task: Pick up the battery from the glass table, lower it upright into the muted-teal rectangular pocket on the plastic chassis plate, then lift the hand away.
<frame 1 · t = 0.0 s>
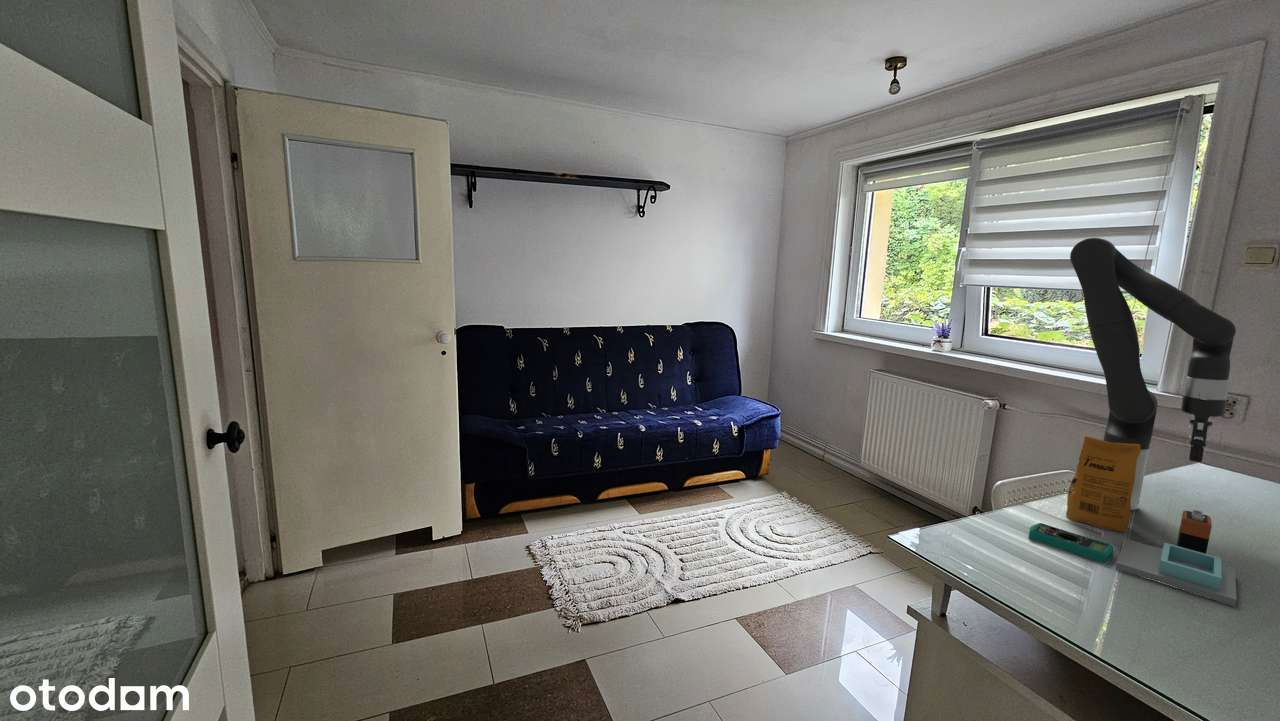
hand: (1195, 457, 132), 17 cm above the table, tool pointing down, fingers open, 8 cm apart
coffee package: (1095, 521, 134), on the table
battery: (1189, 555, 118), on the table
chassis: (1173, 572, 110), on the table
digital multimeter: (1069, 548, 121), on the table
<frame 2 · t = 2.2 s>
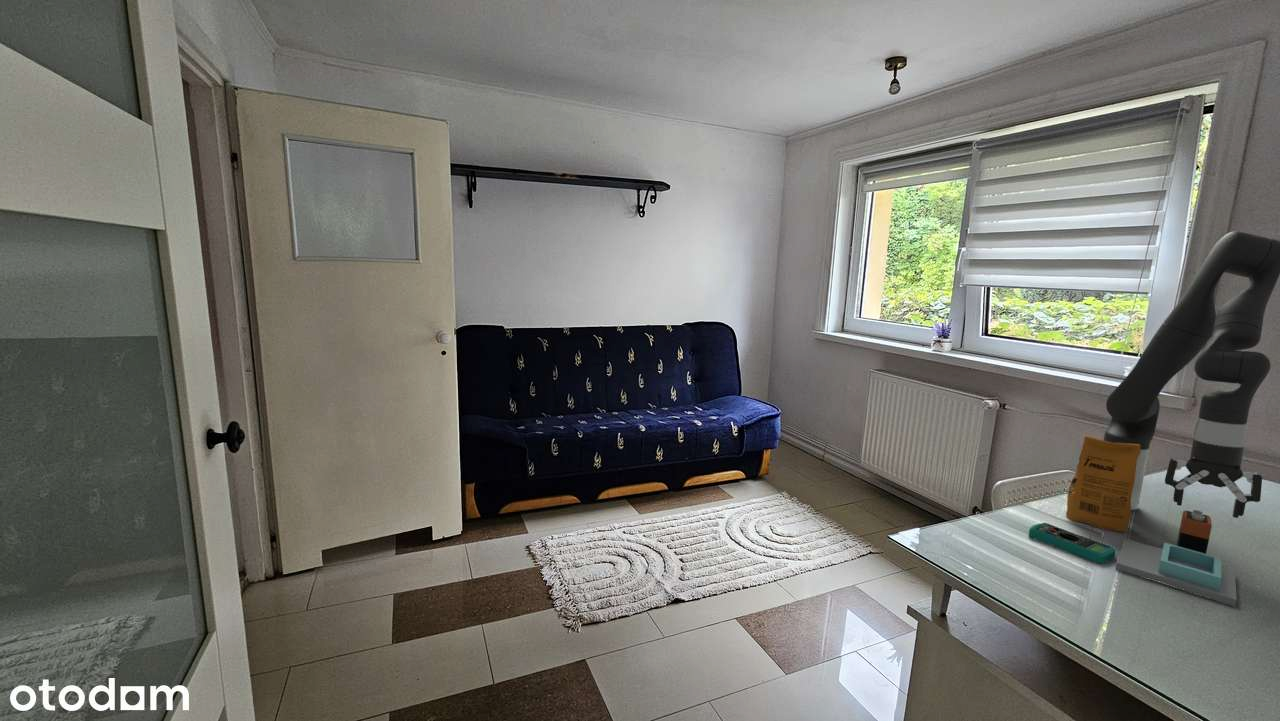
hand: (1206, 510, 116), 11 cm above the table, tool pointing down, fingers open, 8 cm apart
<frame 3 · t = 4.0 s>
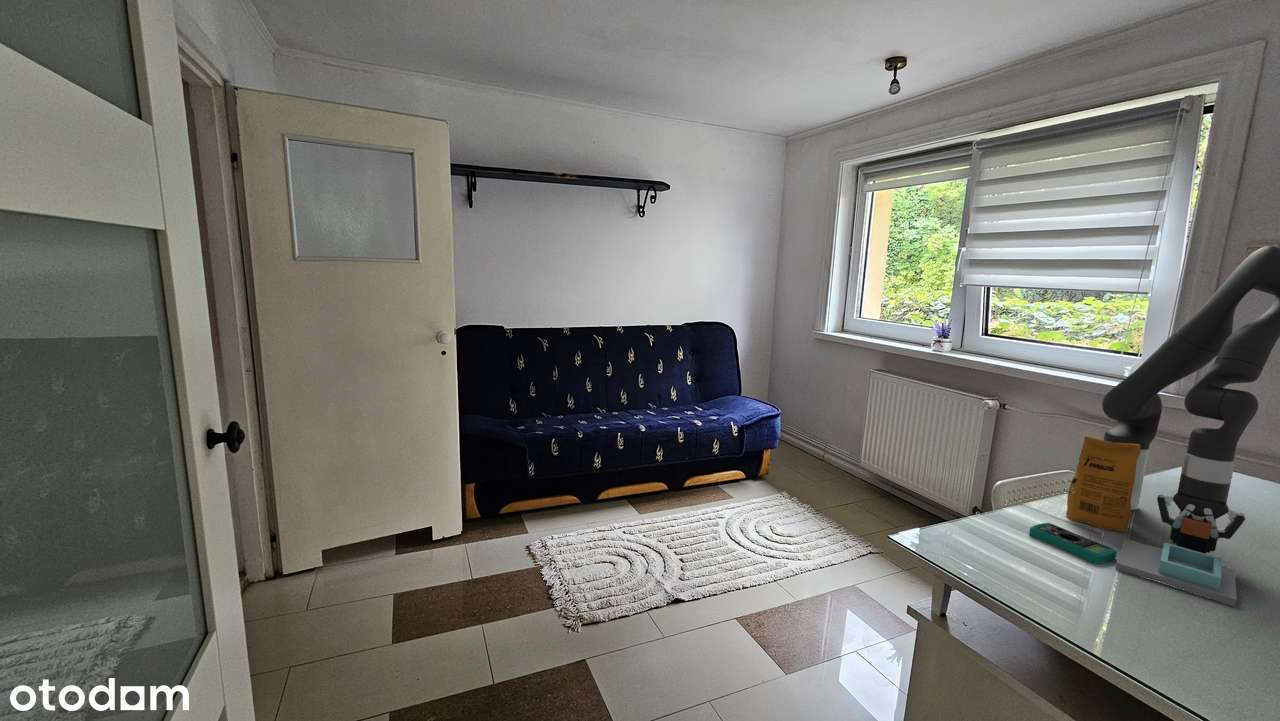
hand: (1191, 546, 117), 2 cm above the table, tool pointing down, fingers closed on battery, 4 cm apart
battery: (1189, 555, 118), on the table, touching gripper
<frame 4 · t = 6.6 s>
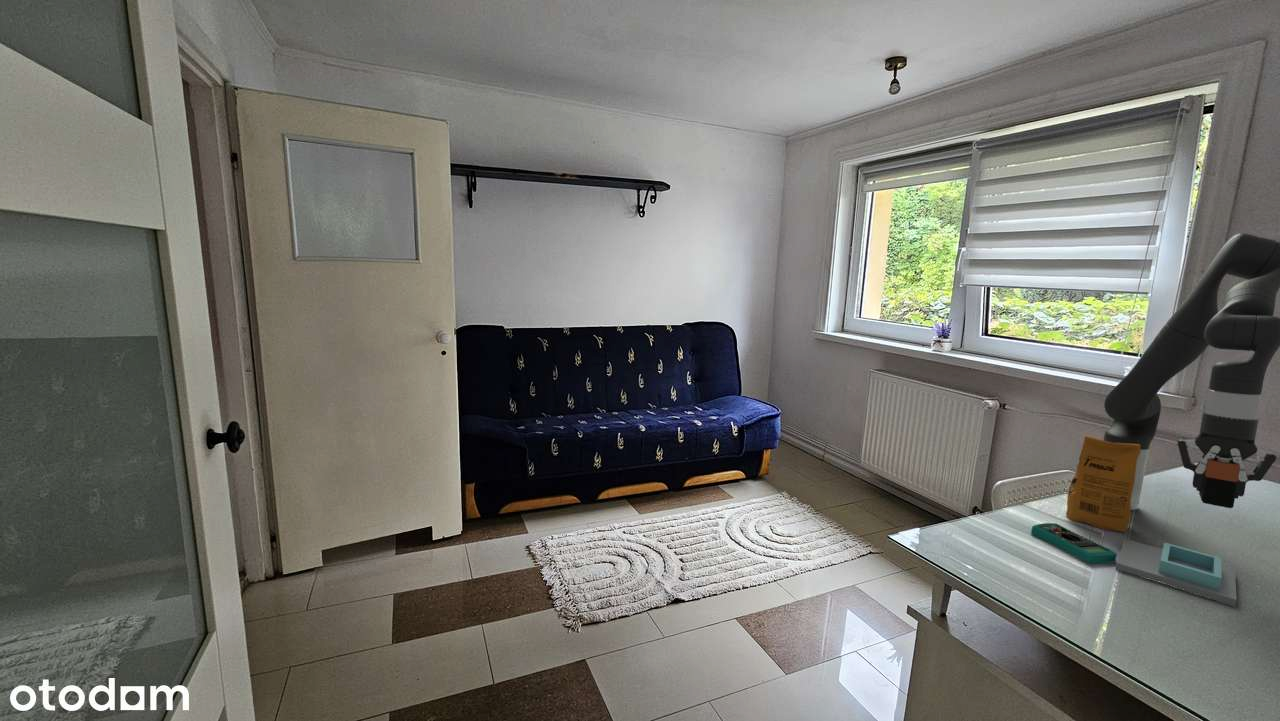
hand: (1216, 493, 107), 18 cm above the table, tool pointing down, fingers closed on battery, 4 cm apart
battery: (1215, 502, 107), point 16 cm above the table, touching gripper
when the fingers open (5 cm above the table, at t = 9.2 s): battery drops 1 cm, resting on chassis.
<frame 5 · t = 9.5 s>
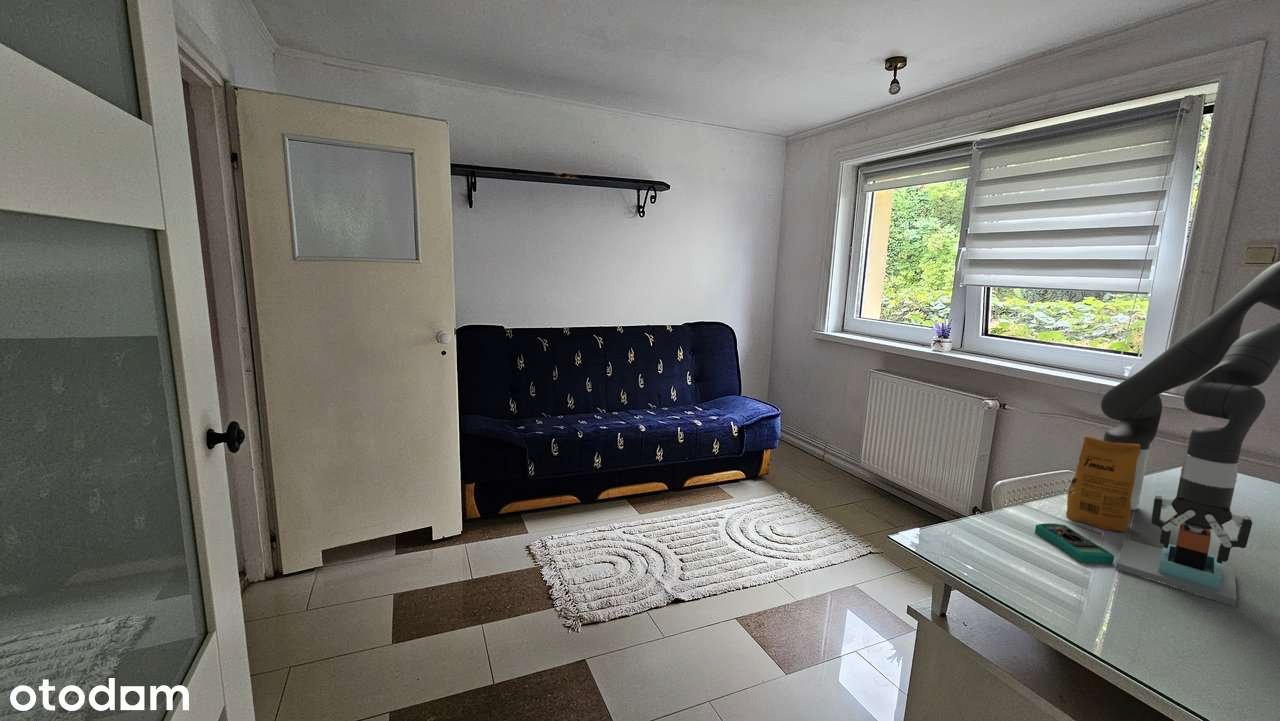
hand: (1192, 554, 108), 5 cm above the table, tool pointing down, fingers open, 7 cm apart
battery: (1187, 570, 109), point 1 cm above the table, touching chassis
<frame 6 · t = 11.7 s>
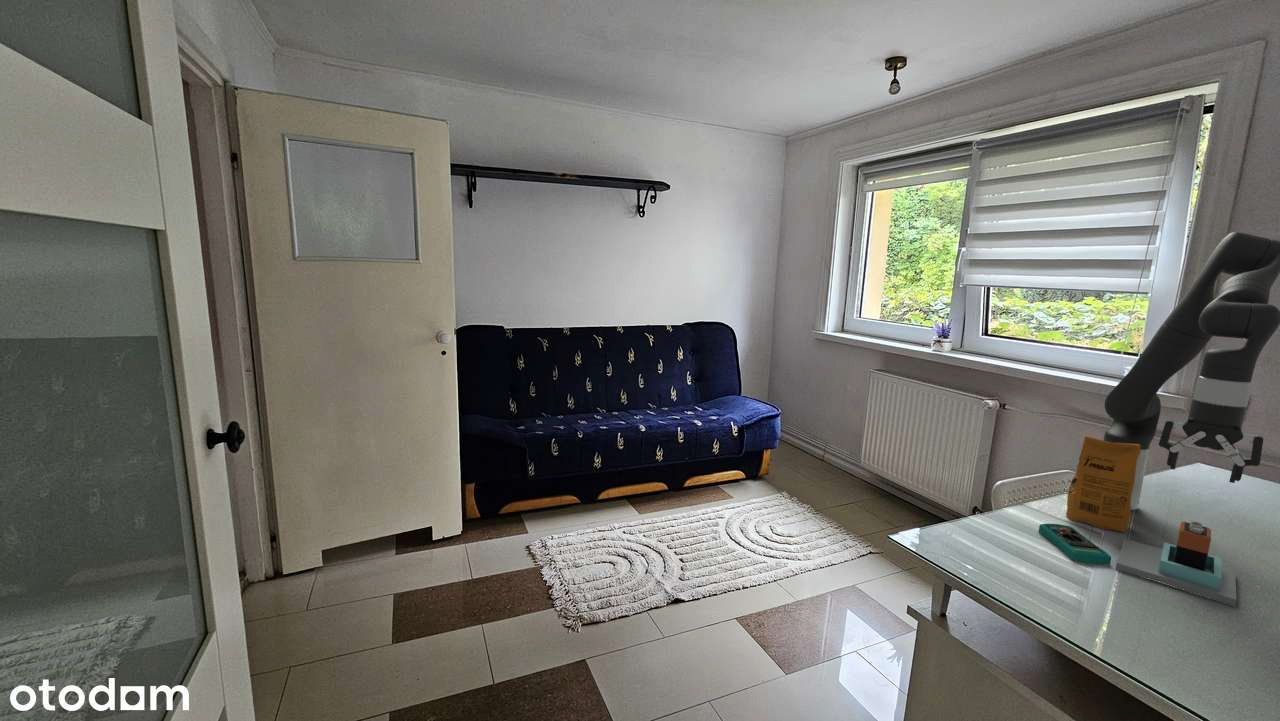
hand: (1201, 475, 109), 21 cm above the table, tool pointing down, fingers open, 8 cm apart
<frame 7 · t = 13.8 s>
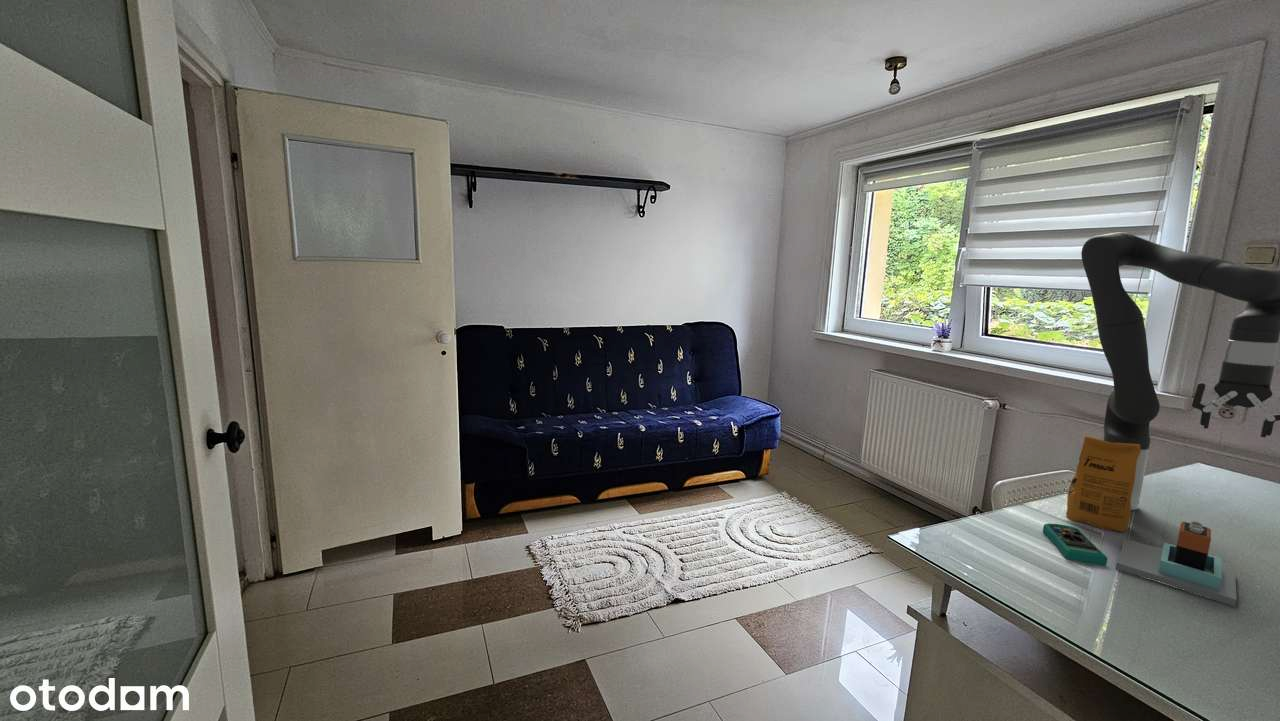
hand: (1233, 432, 116), 28 cm above the table, tool pointing down, fingers open, 8 cm apart
at the end: battery 0.2 cm from the target spot on the chassis, point 1.3 cm above the chassis's base; battery tilted 0°; the gripper is holding nothing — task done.
